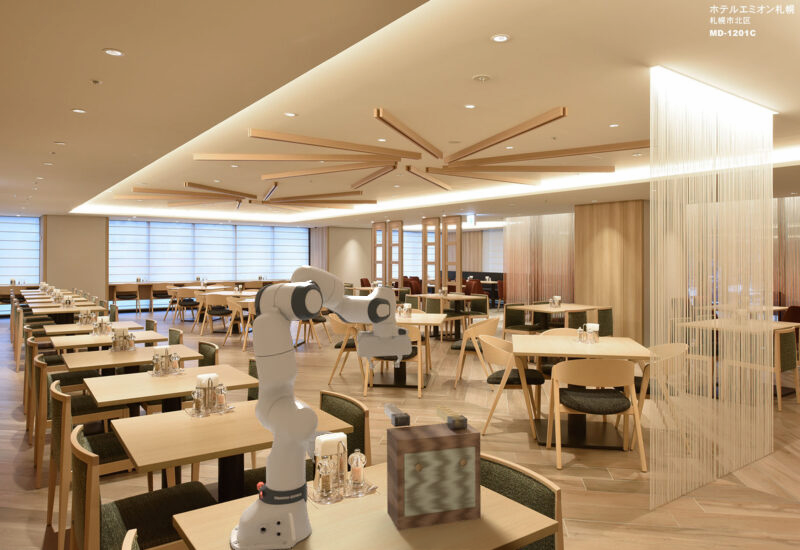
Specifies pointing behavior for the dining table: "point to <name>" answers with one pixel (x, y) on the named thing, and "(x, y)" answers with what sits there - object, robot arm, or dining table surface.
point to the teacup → (312, 443)
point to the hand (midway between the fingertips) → (384, 367)
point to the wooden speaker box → (433, 475)
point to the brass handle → (451, 418)
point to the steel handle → (396, 415)
